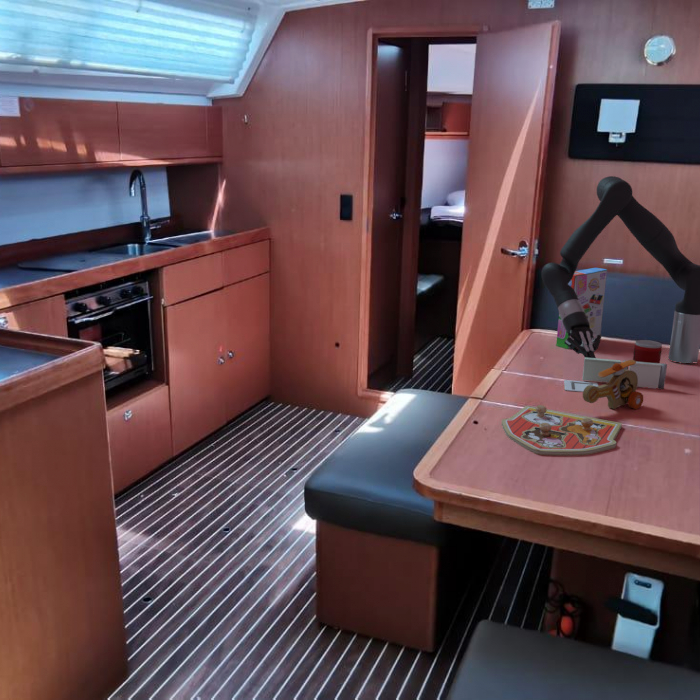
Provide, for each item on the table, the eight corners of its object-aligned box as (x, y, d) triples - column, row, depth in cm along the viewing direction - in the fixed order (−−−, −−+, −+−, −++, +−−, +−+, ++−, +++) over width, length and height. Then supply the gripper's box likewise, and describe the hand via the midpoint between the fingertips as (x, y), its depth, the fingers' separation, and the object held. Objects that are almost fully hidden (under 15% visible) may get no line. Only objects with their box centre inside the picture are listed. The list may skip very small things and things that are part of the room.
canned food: (661, 380, 232) (666, 346, 229) (636, 379, 232) (640, 345, 229) (652, 372, 240) (656, 340, 237) (627, 372, 240) (631, 339, 237)
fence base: (619, 383, 228) (622, 360, 226) (663, 387, 225) (666, 363, 223) (620, 385, 226) (622, 361, 224) (664, 389, 223) (667, 365, 221)
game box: (587, 337, 282) (595, 267, 275) (600, 340, 278) (608, 269, 271) (555, 346, 269) (562, 272, 262) (568, 349, 265) (575, 274, 258)
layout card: (564, 380, 230) (564, 379, 230) (597, 383, 228) (597, 382, 228) (564, 390, 221) (564, 389, 221) (599, 393, 218) (599, 392, 218)
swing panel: (618, 381, 228) (620, 360, 226) (618, 383, 226) (621, 361, 224) (582, 378, 230) (584, 357, 229) (582, 380, 229) (584, 359, 227)
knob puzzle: (627, 429, 192) (629, 413, 191) (602, 471, 168) (604, 452, 167) (518, 408, 207) (520, 393, 205) (481, 443, 182) (482, 427, 181)
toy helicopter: (645, 407, 208) (651, 360, 204) (595, 420, 197) (600, 371, 193) (621, 398, 214) (626, 353, 211) (571, 411, 204) (576, 363, 200)
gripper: (561, 311, 232) (580, 359, 225) (596, 309, 236) (617, 356, 229) (550, 324, 239) (568, 371, 231) (584, 321, 243) (604, 367, 235)
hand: (592, 363), depth 230 cm, fingers closed
